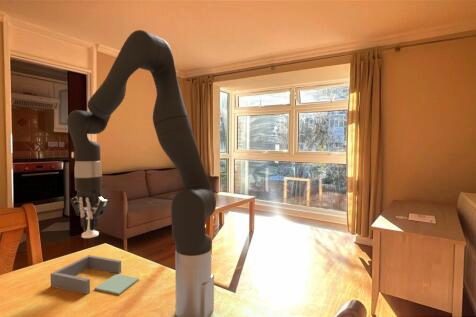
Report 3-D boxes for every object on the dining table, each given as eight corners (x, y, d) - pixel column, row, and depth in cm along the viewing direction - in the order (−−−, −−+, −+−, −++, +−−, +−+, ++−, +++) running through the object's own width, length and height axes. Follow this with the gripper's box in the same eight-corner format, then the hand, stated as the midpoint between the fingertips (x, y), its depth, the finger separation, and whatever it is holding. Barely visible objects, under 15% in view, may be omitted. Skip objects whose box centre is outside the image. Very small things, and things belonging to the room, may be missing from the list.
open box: (121, 271, 94) (121, 260, 93) (86, 294, 80) (86, 281, 80) (89, 265, 98) (88, 255, 97) (50, 286, 84) (50, 273, 84)
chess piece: (91, 238, 85) (90, 206, 84) (77, 237, 86) (76, 205, 85) (102, 233, 89) (101, 203, 89) (89, 232, 90) (88, 202, 90)
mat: (139, 280, 88) (139, 278, 88) (119, 295, 80) (119, 293, 80) (116, 275, 91) (116, 273, 91) (94, 289, 82) (94, 287, 82)
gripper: (115, 174, 88) (116, 227, 89) (81, 172, 92) (82, 223, 93) (96, 177, 81) (98, 235, 82) (60, 175, 85) (62, 230, 86)
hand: (89, 228), depth 87 cm, fingers closed on chess piece
